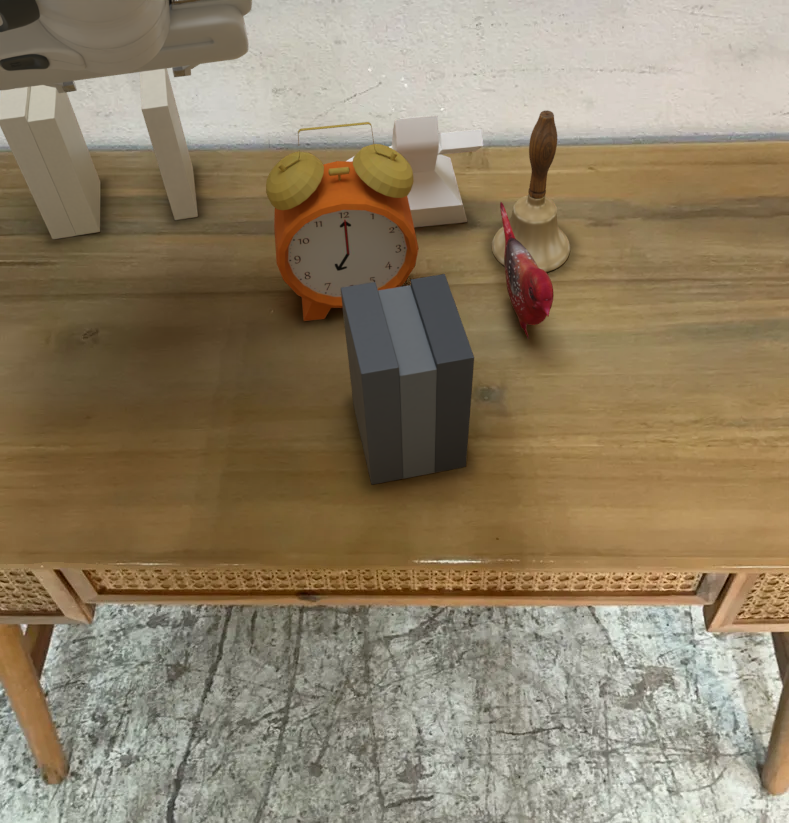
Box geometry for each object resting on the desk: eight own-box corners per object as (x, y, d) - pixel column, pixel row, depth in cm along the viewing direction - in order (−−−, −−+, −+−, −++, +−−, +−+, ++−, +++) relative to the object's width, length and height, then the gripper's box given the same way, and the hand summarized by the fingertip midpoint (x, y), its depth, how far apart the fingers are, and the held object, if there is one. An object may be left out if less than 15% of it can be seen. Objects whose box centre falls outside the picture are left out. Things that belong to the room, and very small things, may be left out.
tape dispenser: (346, 192, 95) (336, 82, 84) (467, 180, 96) (472, 69, 85) (352, 241, 90) (343, 131, 79) (480, 228, 91) (488, 117, 80)
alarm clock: (288, 327, 83) (255, 158, 67) (285, 284, 87) (253, 114, 71) (419, 312, 84) (419, 141, 68) (411, 270, 87) (408, 98, 71)
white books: (52, 239, 92) (-4, 119, 80) (55, 189, 97) (3, 69, 85) (100, 232, 92) (52, 112, 80) (100, 182, 98) (55, 62, 86)
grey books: (371, 485, 72) (361, 374, 60) (353, 404, 77) (340, 287, 65) (466, 466, 72) (474, 353, 60) (441, 388, 78) (444, 269, 66)
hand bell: (475, 250, 89) (484, 118, 76) (523, 211, 92) (539, 79, 80) (538, 286, 85) (558, 154, 73) (585, 245, 89) (612, 112, 76)
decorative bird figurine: (523, 375, 78) (534, 300, 70) (483, 249, 89) (489, 171, 81) (553, 371, 79) (568, 296, 71) (509, 245, 89) (518, 168, 81)
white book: (174, 220, 93) (141, 109, 82) (171, 171, 98) (139, 60, 87) (198, 216, 93) (167, 105, 82) (193, 168, 99) (164, 57, 88)
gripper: (243, -63, 58) (238, 22, 72) (-68, -31, 54) (-11, 53, 68) (263, 28, 59) (254, 95, 72) (-44, 67, 55) (7, 130, 68)
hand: (124, 75), depth 70 cm, fingers open, 8 cm apart
